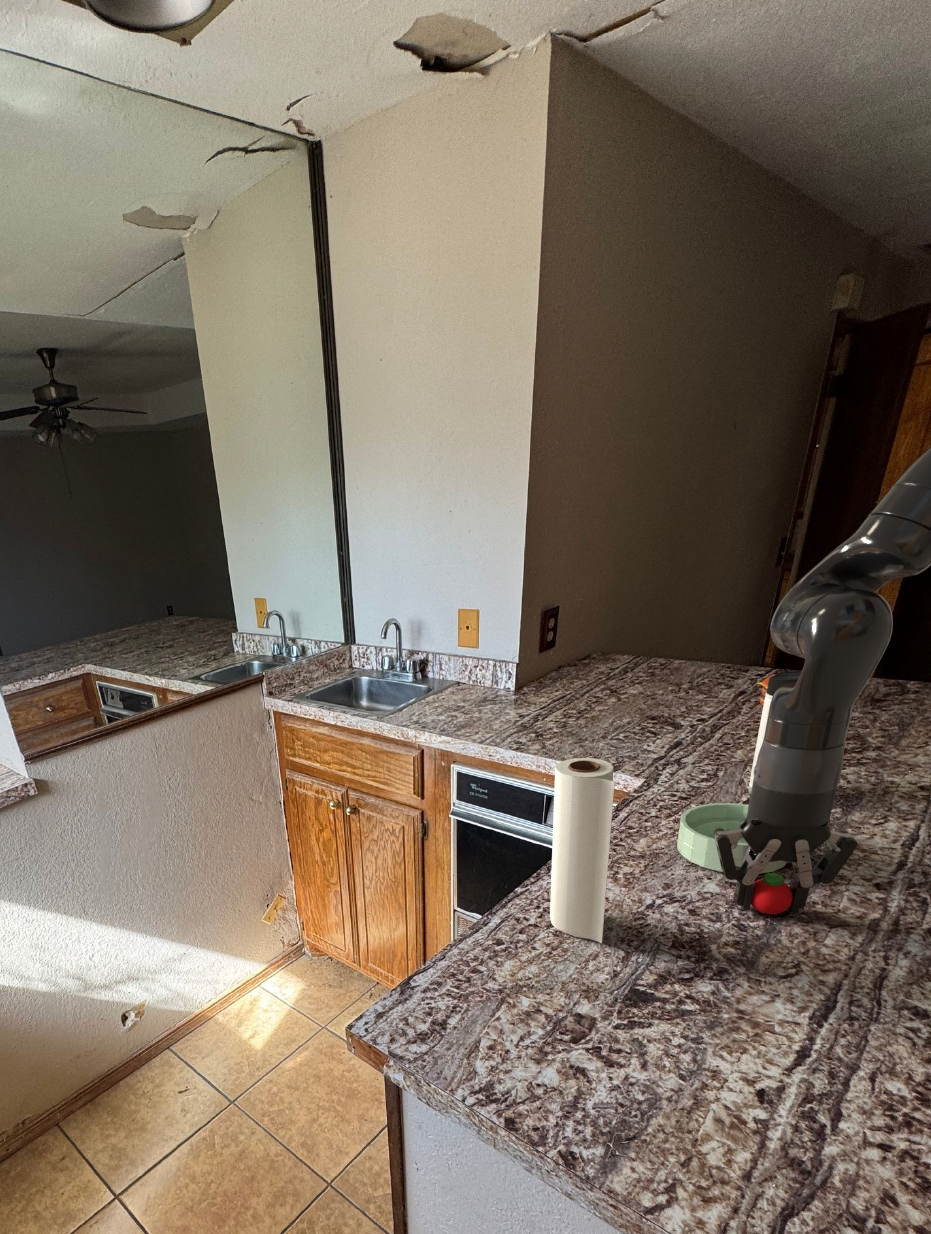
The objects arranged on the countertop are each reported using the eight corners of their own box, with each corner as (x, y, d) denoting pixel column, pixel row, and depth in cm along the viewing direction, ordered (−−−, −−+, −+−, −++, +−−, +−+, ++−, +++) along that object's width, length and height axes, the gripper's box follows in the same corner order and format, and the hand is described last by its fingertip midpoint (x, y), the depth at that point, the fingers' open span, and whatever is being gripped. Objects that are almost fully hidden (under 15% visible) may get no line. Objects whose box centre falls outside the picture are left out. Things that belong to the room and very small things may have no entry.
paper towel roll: (551, 907, 86) (556, 755, 76) (601, 911, 83) (613, 755, 74) (548, 939, 80) (553, 779, 70) (601, 944, 77) (615, 779, 68)
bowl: (801, 848, 90) (808, 816, 88) (768, 888, 83) (775, 854, 81) (698, 825, 100) (702, 796, 97) (660, 860, 92) (664, 829, 90)
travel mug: (786, 804, 102) (813, 678, 93) (740, 794, 107) (762, 673, 98) (803, 791, 105) (831, 668, 96) (758, 782, 110) (780, 664, 101)
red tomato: (794, 909, 79) (801, 875, 76) (782, 925, 76) (789, 891, 74) (752, 897, 82) (758, 864, 80) (739, 913, 79) (745, 879, 77)
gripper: (727, 791, 71) (706, 921, 78) (890, 791, 66) (851, 930, 73) (713, 766, 77) (694, 889, 84) (861, 764, 72) (827, 895, 79)
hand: (767, 907), depth 79 cm, fingers closed on red tomato, 4 cm apart
